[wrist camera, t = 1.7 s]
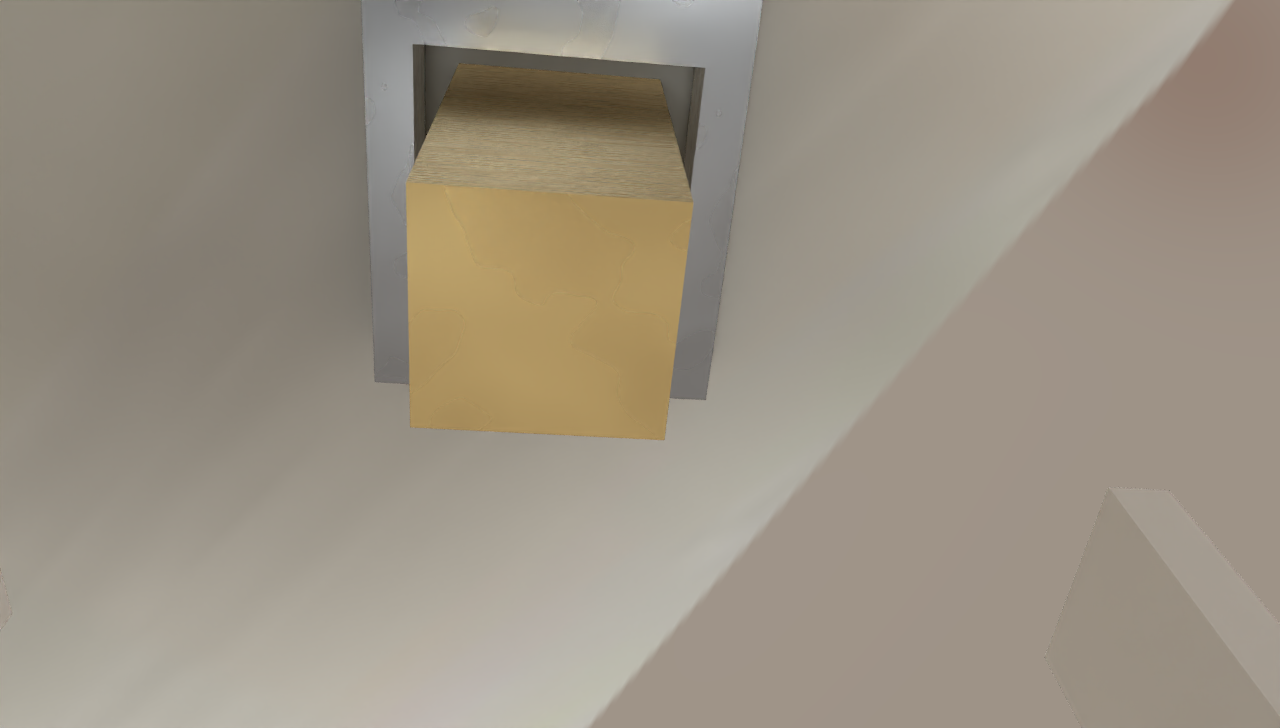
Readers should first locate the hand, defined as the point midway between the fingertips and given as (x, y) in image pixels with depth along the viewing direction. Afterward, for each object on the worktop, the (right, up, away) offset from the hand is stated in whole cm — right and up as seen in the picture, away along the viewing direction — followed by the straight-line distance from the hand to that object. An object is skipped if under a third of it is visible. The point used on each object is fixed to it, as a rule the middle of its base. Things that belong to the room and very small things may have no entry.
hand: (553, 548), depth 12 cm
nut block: (-1, +7, +12) cm, 14 cm away
